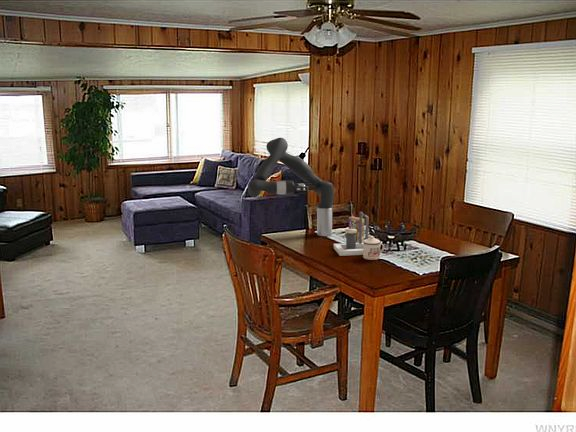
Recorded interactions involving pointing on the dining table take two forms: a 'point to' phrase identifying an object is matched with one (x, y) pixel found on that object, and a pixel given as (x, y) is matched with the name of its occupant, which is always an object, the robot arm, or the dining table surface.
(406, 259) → the dining table surface
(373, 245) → the teacup with lid
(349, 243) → the cord spool
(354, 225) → the candy box
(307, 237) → the dining table surface
